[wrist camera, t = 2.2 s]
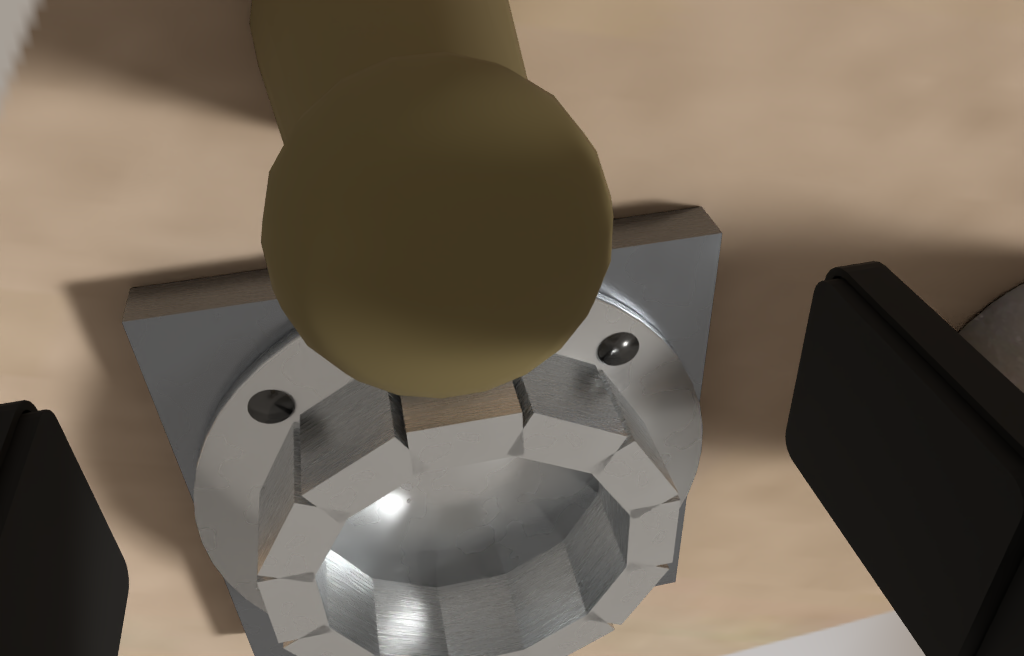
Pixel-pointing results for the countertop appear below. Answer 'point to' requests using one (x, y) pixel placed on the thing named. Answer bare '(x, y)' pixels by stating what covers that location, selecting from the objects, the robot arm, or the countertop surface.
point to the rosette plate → (440, 465)
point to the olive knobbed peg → (424, 194)
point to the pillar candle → (1001, 335)
